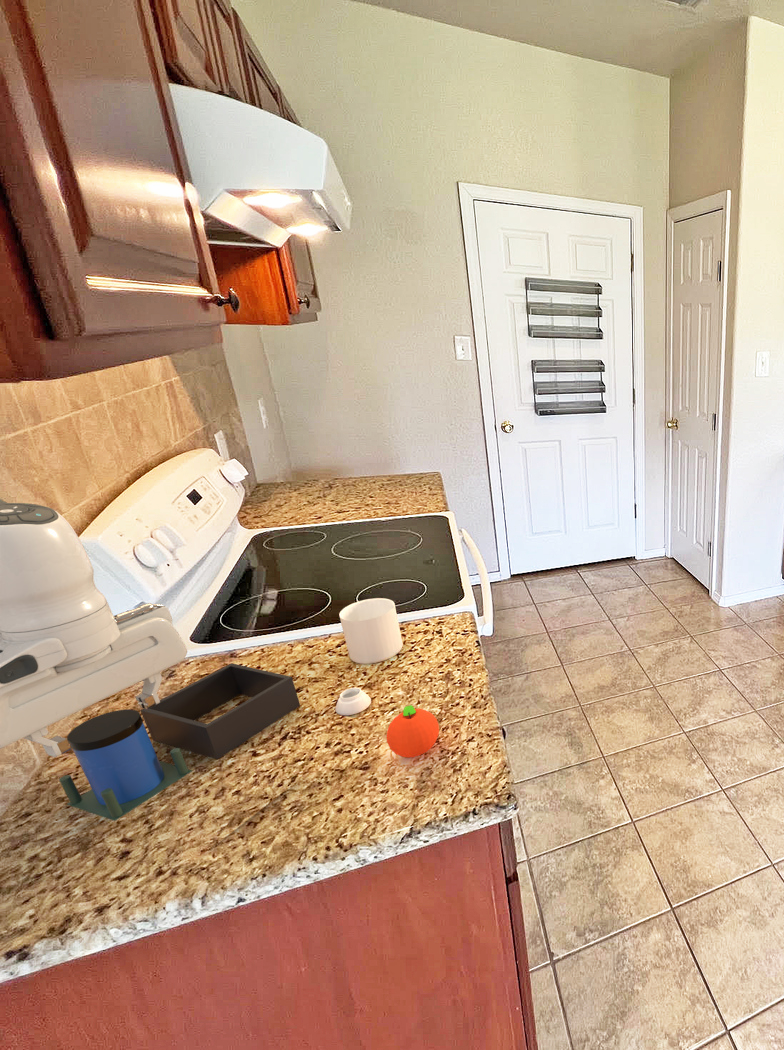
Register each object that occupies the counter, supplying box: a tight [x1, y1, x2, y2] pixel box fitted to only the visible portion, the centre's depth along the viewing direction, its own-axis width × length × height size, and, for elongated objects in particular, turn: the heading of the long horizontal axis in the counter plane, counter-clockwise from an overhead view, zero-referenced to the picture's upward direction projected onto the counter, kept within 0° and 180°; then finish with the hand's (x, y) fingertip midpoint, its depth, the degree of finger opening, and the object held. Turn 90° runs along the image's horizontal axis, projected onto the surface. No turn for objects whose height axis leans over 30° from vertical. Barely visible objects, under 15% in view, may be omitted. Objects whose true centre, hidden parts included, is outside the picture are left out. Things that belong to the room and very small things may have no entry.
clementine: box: [386, 704, 440, 758], centre depth 85 cm, size 8×7×7 cm
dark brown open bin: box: [139, 662, 301, 760], centre depth 89 cm, size 13×13×7 cm
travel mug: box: [66, 708, 164, 805], centre depth 75 cm, size 7×7×10 cm
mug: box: [338, 597, 404, 665], centre depth 110 cm, size 12×9×9 cm
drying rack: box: [58, 747, 194, 822], centre depth 77 cm, size 9×9×5 cm
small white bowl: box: [334, 687, 372, 716], centre depth 95 cm, size 5×3×5 cm
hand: (107, 727), depth 74 cm, fingers open, 8 cm apart
